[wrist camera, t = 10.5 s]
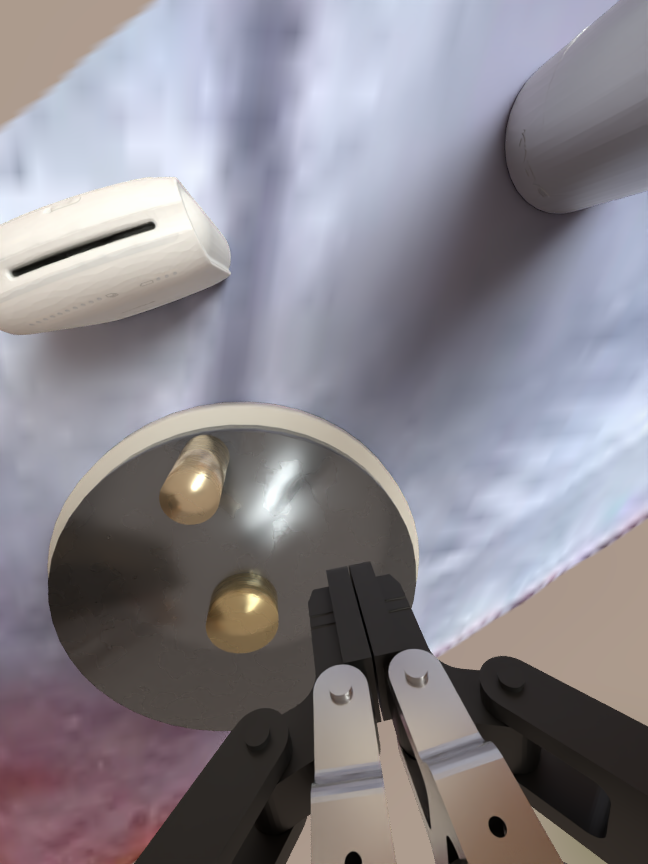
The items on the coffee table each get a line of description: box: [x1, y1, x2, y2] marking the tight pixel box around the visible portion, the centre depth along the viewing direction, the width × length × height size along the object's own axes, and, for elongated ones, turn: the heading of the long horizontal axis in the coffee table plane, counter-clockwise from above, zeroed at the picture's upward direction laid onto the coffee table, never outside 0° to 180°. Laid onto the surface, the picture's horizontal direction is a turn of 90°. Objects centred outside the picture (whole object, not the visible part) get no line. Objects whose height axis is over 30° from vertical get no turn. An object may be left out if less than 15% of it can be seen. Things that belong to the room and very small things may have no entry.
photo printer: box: [0, 177, 231, 335], centre depth 20 cm, size 10×4×12 cm, turn 109°
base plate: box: [48, 402, 419, 581], centre depth 33 cm, size 29×29×2 cm
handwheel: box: [48, 425, 416, 731], centre depth 28 cm, size 27×27×8 cm
